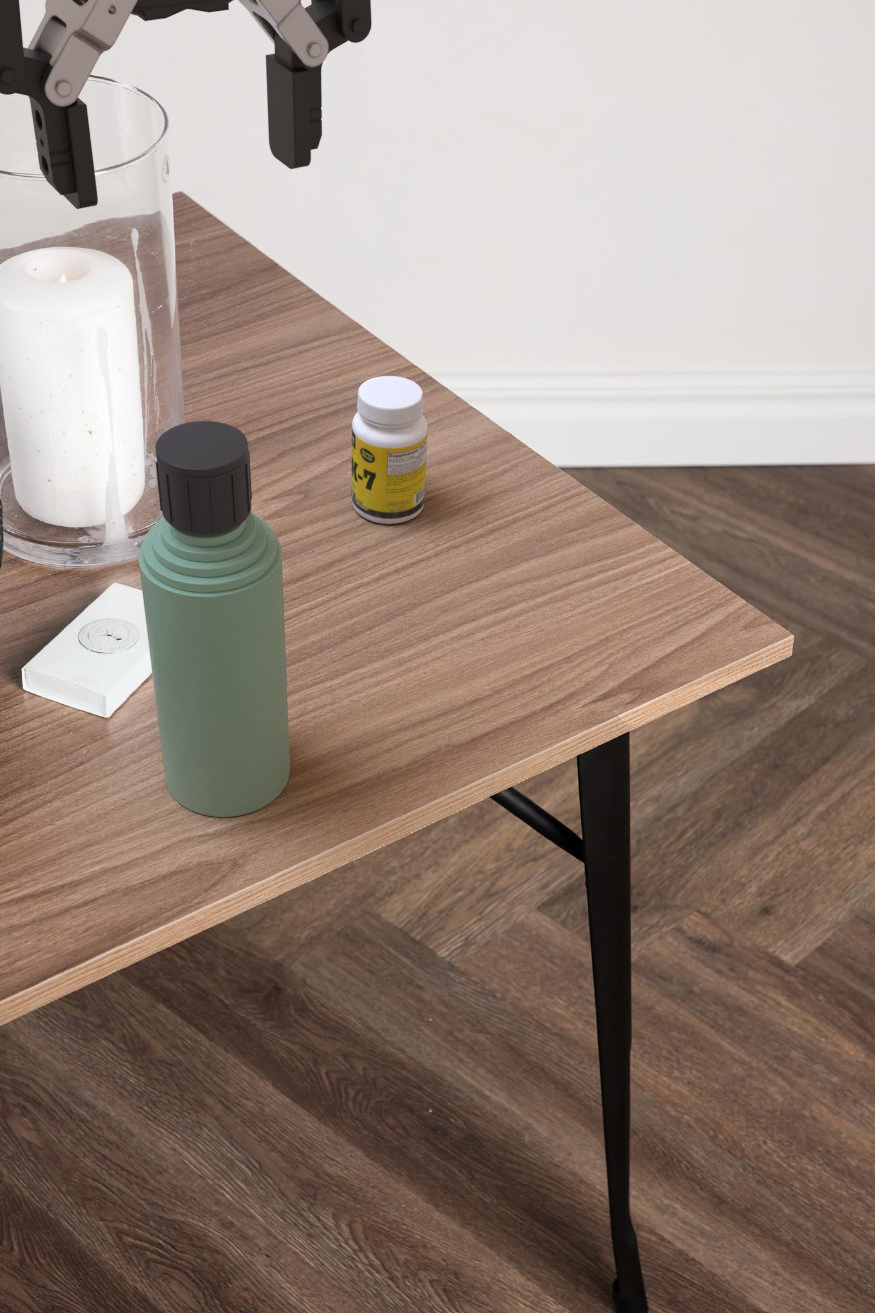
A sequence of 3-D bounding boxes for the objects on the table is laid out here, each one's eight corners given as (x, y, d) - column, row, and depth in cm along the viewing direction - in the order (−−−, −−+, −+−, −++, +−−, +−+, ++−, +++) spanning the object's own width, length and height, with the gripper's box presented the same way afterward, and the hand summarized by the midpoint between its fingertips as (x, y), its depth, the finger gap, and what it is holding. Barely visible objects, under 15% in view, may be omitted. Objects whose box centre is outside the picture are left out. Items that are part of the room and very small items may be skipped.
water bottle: (196, 835, 70) (163, 516, 57) (145, 755, 74) (103, 441, 61) (312, 788, 72) (304, 474, 60) (256, 714, 76) (238, 405, 64)
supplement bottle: (340, 493, 93) (339, 379, 87) (406, 478, 94) (410, 365, 89) (368, 533, 89) (369, 417, 84) (436, 517, 91) (442, 402, 86)
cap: (228, 475, 64) (224, 412, 62) (266, 518, 62) (263, 454, 60) (148, 498, 63) (140, 434, 61) (184, 544, 60) (177, 478, 58)
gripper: (-50, -328, 37) (39, 257, 48) (416, -339, 43) (403, 182, 54) (-129, -361, 42) (-32, 177, 52) (302, -367, 48) (310, 117, 58)
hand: (188, 180), depth 53 cm, fingers open, 8 cm apart
